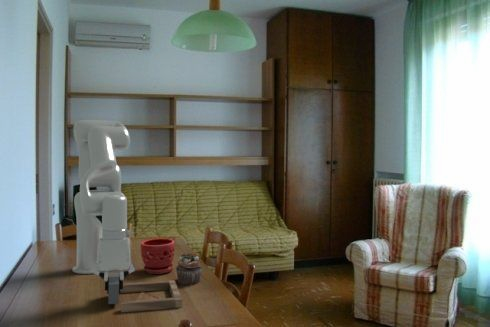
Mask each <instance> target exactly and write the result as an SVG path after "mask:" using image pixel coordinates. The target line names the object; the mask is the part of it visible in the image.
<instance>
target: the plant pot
mask: <svg viewBox="0 0 490 327" xmlns="http://www.w3.org/2000/svg"><path fill="white" fill-rule="evenodd" d="M175 249H176V245H175V240H174V239H171V238H164V237H161V238H151V239H146V240H144V241H142V242H140V252H141V254H140V255H141V259H142V263H143V264H144V266H143V270H144V271H145V273H147V274H152V275H162V274H166V273H169V272H171V271H172V270H174V267H175V266H174V264H173V262H174V261H173V260H174V259H175Z"/></svg>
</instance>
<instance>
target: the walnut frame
mask: <svg viewBox="0 0 490 327" xmlns="http://www.w3.org/2000/svg"><path fill="white" fill-rule="evenodd" d="M154 291H169V292H170V293H169V294H170V295H171V297H167V298H166V297H165V298H159V299H151V300H138V301H136V300H128V301H121V302H120V312H121V313H131V312H143V311H154V310H167V309H168V310H169V309H177V308H178V309H180V308H183V298H182V295H181V294H180V291H179V288H178V286H177V283H176V281H175V279H174V280H173V279H172V280H159V281H146V282H143V281H142V282H129V283H123V289H121V293H120V294H126V293H142V292H154Z"/></svg>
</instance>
